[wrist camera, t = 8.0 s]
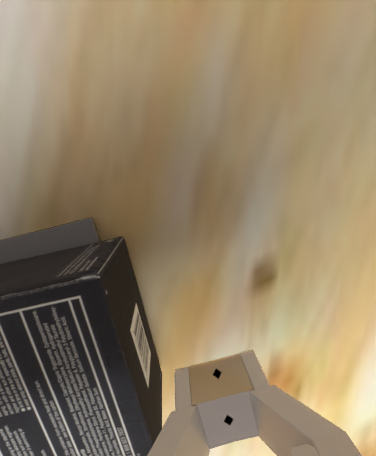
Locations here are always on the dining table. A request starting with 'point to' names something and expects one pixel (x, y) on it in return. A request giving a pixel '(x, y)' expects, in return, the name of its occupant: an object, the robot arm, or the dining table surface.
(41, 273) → the small box
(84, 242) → the mat
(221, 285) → the dining table surface
